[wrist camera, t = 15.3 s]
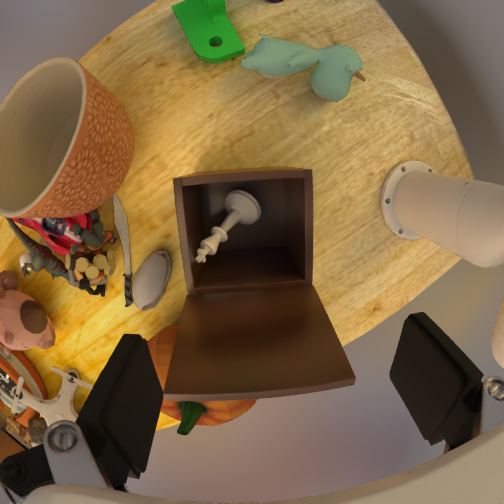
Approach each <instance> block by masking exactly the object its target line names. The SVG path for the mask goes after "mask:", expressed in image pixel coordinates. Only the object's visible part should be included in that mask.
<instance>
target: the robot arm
mask: <svg viewBox="0 0 504 504" xmlns="http://www.w3.org/2000/svg"><path fill="white" fill-rule="evenodd" d="M381 210H382V214H383V217H384V220H385V222H386V224H387V225H388V227H389V228H390V230H391V231H392V232H393V233H395V234H396V235H398V236H399V237H402V238H404V239H408V240H416V239H419V238H422V237H424V238H425V239H427V240H429V241H431V242H433V243H435V244H437V245H439V246H441V247H443V248H445V249H447V250H448V251H450V252H452V253H454V254H456V255H458V256H459V257H461V258H463V259H465V260H467V261H469V262H471V263H472V264H474V265H476V266H479V267H483V268H491V267H495V266H498V265H500V264H503V263H504V186H502V185H497V184H493V183H488V182H483V181H478V180H473V179H468V178H463V177H457V176H451V175H445V174H439V173H436V172H435V171H434V169H433V168H432V167H430V166H429V165H428V164H426V163H424V162H421V161H417V160H409V161H404V162H402V163H400V164H398V165H397V166H395V167H394V168H393V169H392V170H391V172H390V173H389V174H388V176H387V178H386V180H385V182H384V185H383V188H382V193H381ZM491 347H492V352H493V355H494V357H495V359H496V361H497V362H498V363H499V365H500V366H502V367H503V368H504V296H503V300H502V303H501V307H500V310H499V313H498V317H497V320H496V323H495V326H494V330H493V334H492V341H491ZM483 375H484V374H483V373H482V372H481V371H480V370H479V369H478V368H477V367H476V365H475V364H474V363H473V362H472V361H471V360H470V359H469V358H468V357H467V356H466V354H465V353H464V352H463V351H462V350H461V349H460V348H459V347H458V346H457V345H456V344H455V343H454V342H453V341H452V340H451V339H450V338H449V337H448V336H447V335H446V334H445V333H444V332H443V331H442V330H441V328H440V327H438V326H437V324H435V322H434V321H432V320H431V319H430V318H429V317H428V316H427V315H426V314H425V313H424V312H419V313H414V314H410V315H409V316H408V318H407V319H406V320H405V321H404V324H403V329H402V333H401V336H400V340H399V343H398V347H397V350H396V354H395V357H394V360H393V363H392V366H391V370H390V379H391V381H392V383H393V385H394V386H395V388H396V390H397V391H398V393H399V395H400V397H401V398H402V400H403V401H404V403H405V405H406V407H407V408H408V410H409V412H410V414H411V416H412V418H413V419H414V421H415V423H416V425H417V427H418V428H419V430H420V432H421V434H422V436H423V438H424V439H425V440H428V441H429V443H430V445H431V446H432V445H434V444H436V443H438V442H441V441H442V440H443V439H444V440H445V441H446V445H445V449H444V453H443V455H441V456H439V457H437V458H435V459H433V460H431V461H428V462H426V463H424V464H421V465H419V466H417V467H414V468H412V469H409V470H407V471H404V472H401V473H399V474H396V475H393V476H390V477H387V478H384V479H381V480H378V481H375V482H372V483H368V484H365V485H361V486H358V487H354V488H350V489H346V490H341V491H337V492H332V493H327V494H322V495H317V496H311V497H305V498H298V499H290V500H281V501H270V502H255V503H208V502H193V501H182V500H172V499H164V498H156V497H150V496H144V495H139V494H133V493H131V492H130V491H129V489H128V487H127V486H126V484H125V483H126V481H127V478H128V477H131V478H136V479H139V477H140V474H141V472H142V473H144V472H145V470H146V467H147V463H148V458H149V454H150V450H151V446H152V442H153V437H154V434H155V430H156V426H157V422H158V418H159V414H160V410H161V406H162V403H163V397H164V396H163V390H162V387H161V384H160V381H159V378H158V376H157V373H156V370H155V366H154V363H153V360H152V357H151V354H150V351H149V347H148V344H147V341H146V339H142V337H141V335H139V334H124V335H123V336H122V338H121V339H120V341H119V343H118V345H117V346H116V348H115V350H114V352H113V353H112V355H111V357H110V359H109V360H108V362H107V364H106V366H105V368H104V369H103V370H102V372H101V373H100V375H99V377H98V379H97V381H96V383H95V384H94V386H93V388H92V390H91V392H90V394H89V396H88V398H87V400H86V402H85V403H84V405H83V407H82V409H81V411H80V413H79V415H78V417H77V419H76V421H75V422H73V421H70V420H59V421H56V422H54V423H52V424H51V425H50V426H49V427H47V429H46V430H45V432H44V435H43V444H40V445H37V446H35V447H32V448H30V449H27V450H24V451H21V452H19V453H16V454H13V455H10V456H8V457H6V458H5V459H4V460H3V461H2V462H1V464H0V504H504V378H503V377H500V376H490V377H488V378H487V379H486V380H485V381H484V383H483V382H482V381H481V379H482V377H483Z"/></svg>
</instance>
